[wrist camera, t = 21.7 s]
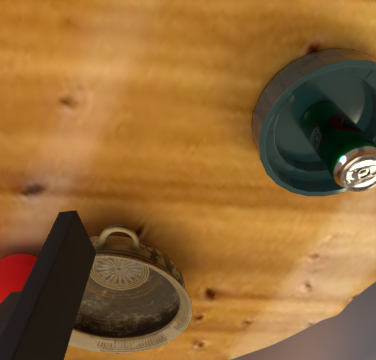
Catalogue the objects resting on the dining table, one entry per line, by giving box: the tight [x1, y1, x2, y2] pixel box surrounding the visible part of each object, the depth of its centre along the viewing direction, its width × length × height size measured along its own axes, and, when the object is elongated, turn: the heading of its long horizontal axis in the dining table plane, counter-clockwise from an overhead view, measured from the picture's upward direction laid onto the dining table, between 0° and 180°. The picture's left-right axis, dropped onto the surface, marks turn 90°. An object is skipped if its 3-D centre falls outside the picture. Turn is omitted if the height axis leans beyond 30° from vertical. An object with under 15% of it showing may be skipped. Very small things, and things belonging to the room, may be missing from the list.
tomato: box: [0, 254, 38, 304], centre depth 52 cm, size 12×13×11 cm
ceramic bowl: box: [68, 225, 193, 353], centre depth 52 cm, size 30×24×10 cm
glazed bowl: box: [252, 48, 376, 196], centre depth 40 cm, size 17×17×5 cm
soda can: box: [301, 102, 376, 192], centre depth 36 cm, size 5×5×12 cm
